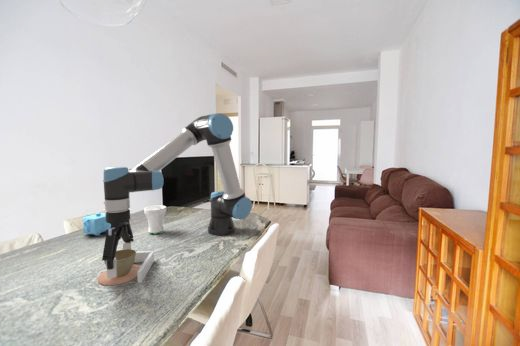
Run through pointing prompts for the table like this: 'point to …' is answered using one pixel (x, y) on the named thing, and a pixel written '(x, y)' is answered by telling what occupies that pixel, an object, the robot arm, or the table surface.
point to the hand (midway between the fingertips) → (120, 267)
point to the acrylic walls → (148, 261)
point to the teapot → (95, 224)
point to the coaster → (118, 280)
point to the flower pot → (124, 261)
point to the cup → (155, 218)
